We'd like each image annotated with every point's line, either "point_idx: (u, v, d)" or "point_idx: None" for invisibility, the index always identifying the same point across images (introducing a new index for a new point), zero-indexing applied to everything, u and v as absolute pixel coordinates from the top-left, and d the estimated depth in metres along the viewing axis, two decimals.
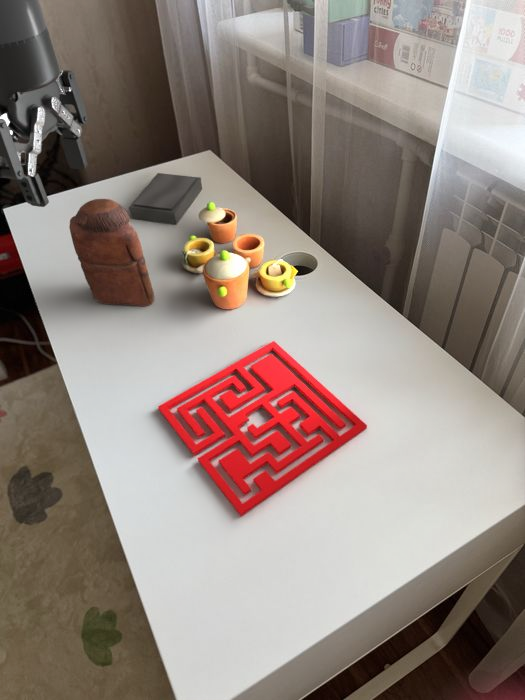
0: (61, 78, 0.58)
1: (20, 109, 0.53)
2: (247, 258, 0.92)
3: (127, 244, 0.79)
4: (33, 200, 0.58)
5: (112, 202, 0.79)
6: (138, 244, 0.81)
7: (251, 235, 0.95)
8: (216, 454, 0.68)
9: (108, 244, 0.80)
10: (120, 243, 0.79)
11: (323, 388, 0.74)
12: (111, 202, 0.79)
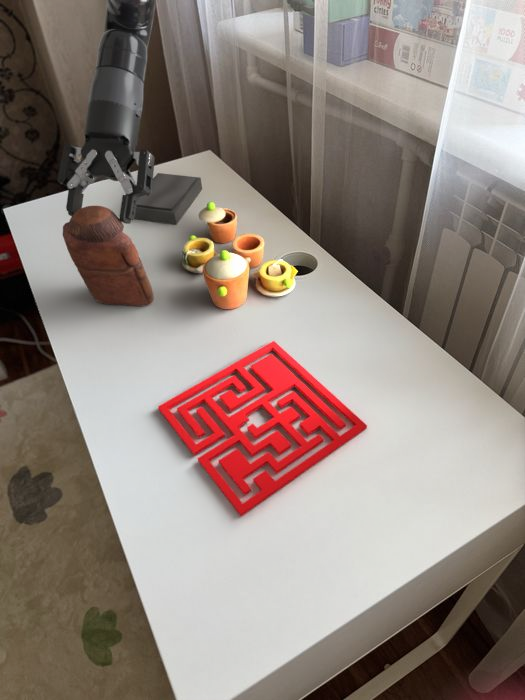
0: None
1: None
2: (247, 258, 0.92)
3: (122, 252, 0.78)
4: (133, 215, 0.78)
5: (104, 210, 0.77)
6: (134, 251, 0.79)
7: (251, 235, 0.95)
8: (216, 454, 0.68)
9: (104, 253, 0.79)
10: (115, 252, 0.78)
11: (323, 388, 0.74)
12: (103, 210, 0.77)
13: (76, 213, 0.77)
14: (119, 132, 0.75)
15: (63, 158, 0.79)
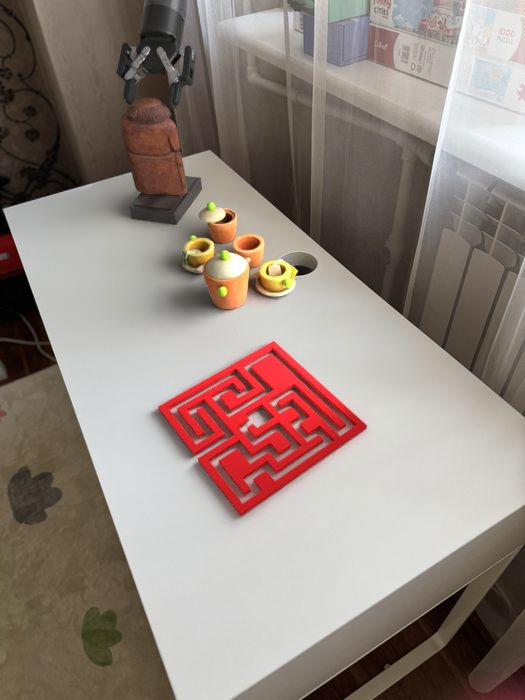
0: None
1: None
2: (247, 258, 0.92)
3: (168, 134, 0.98)
4: (178, 101, 0.97)
5: (157, 100, 0.97)
6: (177, 136, 0.99)
7: (251, 235, 0.95)
8: (216, 454, 0.68)
9: (153, 135, 0.98)
10: (162, 134, 0.98)
11: (323, 388, 0.74)
12: (156, 99, 0.97)
13: (134, 101, 0.97)
14: (169, 31, 0.94)
15: (122, 54, 0.98)
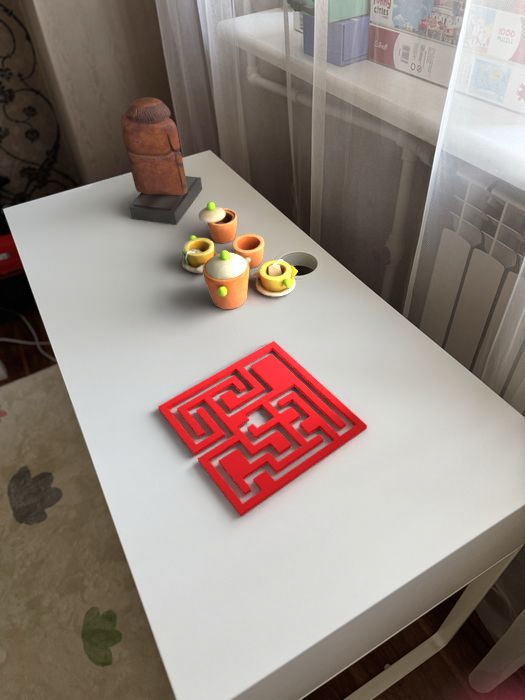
0: None
1: None
2: (247, 258, 0.92)
3: (168, 134, 0.98)
4: None
5: (157, 99, 0.97)
6: (177, 136, 0.99)
7: (251, 235, 0.95)
8: (216, 454, 0.68)
9: (153, 135, 0.98)
10: (162, 133, 0.98)
11: (323, 388, 0.74)
12: (156, 99, 0.97)
13: (134, 101, 0.97)
14: None
15: None
